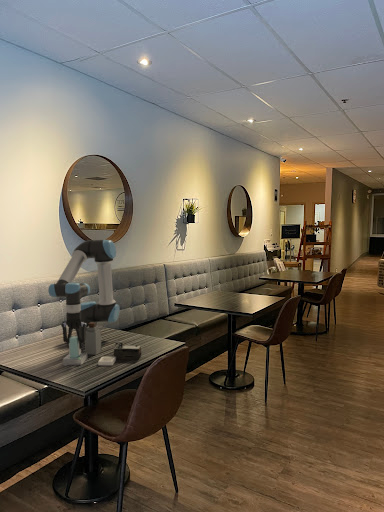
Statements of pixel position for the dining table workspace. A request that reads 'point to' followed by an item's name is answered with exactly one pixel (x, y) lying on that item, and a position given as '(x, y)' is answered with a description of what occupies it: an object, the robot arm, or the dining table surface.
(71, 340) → the plug
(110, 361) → the holster
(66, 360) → the block
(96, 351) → the perfume bottle
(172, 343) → the dining table surface
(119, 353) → the camera
